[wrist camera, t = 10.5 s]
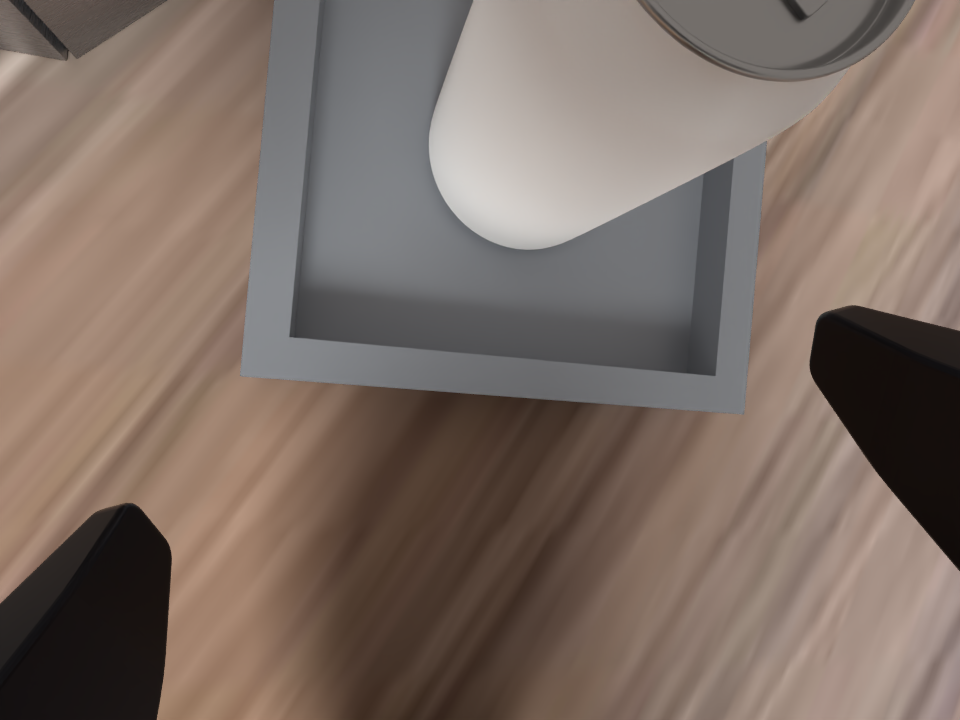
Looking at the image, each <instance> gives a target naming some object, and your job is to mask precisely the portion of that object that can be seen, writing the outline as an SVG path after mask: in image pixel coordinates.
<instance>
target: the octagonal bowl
mask: <svg viewBox="0 0 960 720" xmlns="http://www.w3.org/2000/svg"><path fill="white" fill-rule="evenodd" d="M165 1H167V0H0V49H3V50H9V51H14V52H20V53H26V54H31V55H37V56H43V57H48V58H54V59H60V60H65V61H67V51H68V50H69V51H70V52H71V53H72V54H73V55H74V56H75V57H76V58H79V57H81V56H82V55H84V54H85V53H87V52H88V51H90V50H91V49H93V48H94V47H96V46H97V45H99V44H101V43H102V42H104V41H105V40H107V39H108V38H110V37H111V36H113V35H114V34H116V33H117V32H119V31H121V30H122V29H124V28H125V27H127V26H128V25H130V24H131V23H133V22H134V21H136V20H137V19H139V18H141V17H142V16H144V15H145V14H147V13H148V12H150V11H151V10H153V9H154V8H156V7H157V6H159V5H161V4H162V3H164V2H165Z"/></svg>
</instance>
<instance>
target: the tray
mask: <svg viewBox="0 0 960 720" xmlns="http://www.w3.org/2000/svg"><path fill="white" fill-rule="evenodd" d="M472 3H473V0H274V8H273V19H272V30H271V41H270V52H269V63H268V74H267V85H266V96H265V107H264V118H263V129H262V140H261V151H260V162H259V173H258V184H257V195H256V206H255V217H254V228H253V239H252V250H251V261H250V272H249V283H248V294H247V305H246V316H245V327H244V338H243V349H242V360H241V371H240V376H244V377H257V378H270V379H283V380H296V381H310V382H323V383H336V384H349V385H362V386H375V387H389V388H402V389H415V390H428V391H441V392H454V393H468V394H481V395H494V396H507V397H520V398H533V399H547V400H560V401H573V402H586V403H599V404H612V405H626V406H639V407H652V408H665V409H678V410H691V411H704V412H718V413H731V414H744V409H745V397H746V385H747V373H748V361H749V349H750V337H751V325H752V313H753V301H754V290H755V278H756V266H757V254H758V242H759V230H760V218H761V206H762V194H763V182H764V170H765V158H766V146H767V141H765V142H763V143H762V144H760V145H758V146H756V147H754V148H752V149H750V150H749V151H747V152H745V153H743V154H741V155H739V156H737V157H735V158H733V159H731V160H729V161H727V162H725V163H723V164H722V165H720V166H718V167H716V168H714V169H712V170H710V171H708V172H706V173H704V174H702V175H700V176H698V177H696V178H694V179H692V180H690V181H688V182H686V183H684V184H682V185H680V186H678V187H676V188H674V189H672V190H670V191H668V192H666V193H664V194H662V195H660V196H658V197H656V198H654V199H652V200H650V201H648V202H646V203H644V204H642V205H640V206H638V207H636V208H634V209H632V210H630V211H628V212H626V213H624V214H622V215H620V216H618V217H616V218H614V219H612V220H610V221H608V222H606V223H604V224H602V225H600V226H598V227H596V228H594V229H592V230H590V231H588V232H586V233H584V234H582V235H580V236H577V237H575V238H573V239H571V240H569V241H566V242H564V243H562V244H559V245H556V246H552V247H548V248H543V249H535V250H523V249H514V248H509V247H505V246H502V245H499V244H496V243H493V242H491V241H489V240H487V239H485V238H483V237H481V236H480V235H478V234H476V233H475V232H474V231H472V230H471V229H470V228H468V227H467V226H466V225H465V224H464V223H463V222H462V221H461V220H460V219H459V218H458V217H457V216H456V215H455V214H454V213H453V211H452V210H451V209H450V208H449V206H448V205H447V203H446V202H445V200H444V198H443V197H442V195H441V193H440V191H439V189H438V187H437V184H436V182H435V179H434V176H433V172H432V168H431V164H430V157H429V132H430V126H431V121H432V117H433V113H434V110H435V106H436V103H437V101H438V98H439V95H440V92H441V89H442V86H443V83H444V81H445V78H446V75H447V72H448V69H449V66H450V64H451V61H452V58H453V55H454V53H455V50H456V47H457V44H458V41H459V39H460V36H461V33H462V30H463V28H464V25H465V22H466V19H467V17H468V14H469V11H470V8H471V6H472Z"/></svg>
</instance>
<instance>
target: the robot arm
mask: <svg viewBox="0 0 960 720" xmlns="http://www.w3.org/2000/svg"><path fill="white" fill-rule="evenodd" d="M810 372H811V375H812V377H813V380H814V381H815V383H816V385H817V386H818V388H819V389H820V391H821V392H822V394H823V395H824V396H825V398H826V399H827V401H828V402H829V404H830V405H831V407H832V408H833V410H834V411H835V413H836V414H837V416H838V417H839V419H840V420H841V421H842V423H843V424H844V426H845V427H846V429H847V430H848V432H849V433H850V435H851V436H852V438H853V439H854V441H855V442H856V444H857V445H858V446H859V448H860V449H861V451H862V452H863V454H864V455H865V457H866V458H867V460H868V461H869V462H870V464H871V465H872V466H873V468H874V469H875V471H876V472H877V473H878V475H879V476H880V477H881V478H882V480H883V481H884V482H885V483H886V485H887V486H888V487H889V488H890V489H891V491H892V492H893V493H894V494H895V495H896V497H897V498H898V499H899V500H900V501H901V502H902V504H903V505H904V506H905V507H906V508H907V510H908V511H909V512H910V513H911V514H912V515H913V517H914V518H915V519H916V520H917V521H918V523H919V524H920V525H921V526H922V527H923V528H924V530H925V531H926V532H927V533H928V534H929V536H930V537H931V538H932V539H933V540H934V541H935V543H936V544H937V545H938V546H939V547H940V549H941V550H942V551H943V552H944V553H945V554H946V556H947V557H948V558H949V559H950V560H951V562H952V563H953V564H954V565H955V566H956V567H957V569H958V570H959V571H960V331H958V330H954V329H950V328H946V327H942V326H938V325H934V324H930V323H926V322H922V321H918V320H913V319H909V318H905V317H901V316H897V315H893V314H889V313H885V312H881V311H877V310H873V309H869V308H865V307H861V306H856V305H851V306H846V307H842V308H838V309H835V310H831V311H827V312H825V313H823V314H821V315H820V317H819V318H818V320H817V322H816V326H815V332H814V338H813V344H812V350H811V356H810ZM171 564H172V556H171V550H170V546H169V544H168V542H167V540H166V539H165V538H164V536H163V535H162V534H161V533H160V532H159V530H158V529H157V528H156V527H155V525H154V524H153V523H152V522H151V521H150V519H149V518H148V517H147V516H146V515H145V513H144V512H143V511H142V510H141V509H140V508H139V507H138V506H137V505H135V504H133V503H124V504H120V505H116V506H113V507H109V508H105V509H102V510H99V511H97V512H95V513H94V514H93V515H92V516H91V517H89V518H88V519H87V520H86V521H85V522H84V523H83V524H82V525H81V526H80V527H79V528H78V529H77V530H76V531H75V532H74V533H73V534H72V535H71V536H70V537H69V538H68V539H67V540H66V541H65V542H64V543H63V544H62V545H61V546H59V547H58V548H57V549H56V550H55V551H54V552H53V553H52V554H51V555H50V556H49V557H48V558H47V559H46V560H45V561H44V562H43V563H42V564H41V565H40V566H39V567H38V568H37V569H36V570H35V571H34V572H33V573H32V574H31V575H30V576H28V577H27V578H26V579H25V580H24V581H23V582H22V583H21V584H20V585H19V586H18V587H17V588H16V589H15V590H14V591H13V592H12V593H11V594H10V595H9V596H8V597H7V598H6V599H5V600H4V601H3V602H2V603H1V604H0V720H157V714H158V709H159V703H160V697H161V690H162V683H163V677H164V667H165V657H166V642H167V627H168V611H169V595H170V580H171Z"/></svg>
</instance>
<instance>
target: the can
mask: <svg viewBox="0 0 960 720" xmlns="http://www.w3.org/2000/svg"><path fill="white" fill-rule="evenodd" d="M914 2H915V0H473V3H472V6H471V8H470V11H469V14H468V17H467V19H466V22H465V25H464V28H463V30H462V33H461V36H460V39H459V41H458V44H457V47H456V50H455V53H454V55H453V58H452V61H451V64H450V66H449V69H448V72H447V75H446V78H445V81H444V83H443V86H442V89H441V92H440V95H439V98H438V101H437V103H436V106H435V110H434V113H433V117H432V121H431V126H430V132H429V157H430V164H431V168H432V172H433V176H434V179H435V182H436V184H437V187H438V189H439V191H440V193H441V195H442V197H443V198H444V200H445V202H446V203H447V205H448V206H449V208H450V209H451V210H452V211H453V213H454V214H455V215H456V216H457V217H458V218H459V219H460V220H461V221H462V222H463V223H464V224H465V225H466V226H467V227H468V228H470V229H471V230H472V231H474V232H475V233H476V234H478V235H480V236H481V237H483V238H485V239H487V240H489V241H491V242H493V243H496V244H499V245H502V246H505V247H509V248H514V249H523V250H535V249H543V248H548V247H552V246H556V245H559V244H562V243H564V242H566V241H569V240H571V239H573V238H575V237H577V236H580V235H582V234H584V233H586V232H588V231H590V230H592V229H594V228H596V227H598V226H600V225H602V224H604V223H606V222H608V221H610V220H612V219H614V218H616V217H618V216H620V215H622V214H624V213H626V212H628V211H630V210H632V209H634V208H636V207H638V206H640V205H642V204H644V203H646V202H648V201H650V200H652V199H654V198H656V197H658V196H660V195H662V194H664V193H666V192H668V191H670V190H672V189H674V188H676V187H678V186H680V185H682V184H684V183H686V182H688V181H690V180H692V179H694V178H696V177H698V176H700V175H702V174H704V173H706V172H708V171H710V170H712V169H714V168H716V167H718V166H720V165H722V164H723V163H725V162H727V161H729V160H731V159H733V158H735V157H737V156H739V155H741V154H743V153H745V152H747V151H749V150H750V149H752V148H754V147H756V146H758V145H760V144H762V143H763V142H765V141H767V140H769V139H771V138H772V137H774V136H776V135H778V134H780V133H781V132H783V131H785V130H786V129H788V128H789V127H791V126H792V125H794V124H795V123H797V122H798V121H800V120H801V119H802V118H804V117H805V116H807V115H808V114H809V113H810V112H812V111H813V110H814V109H815V108H816V107H817V106H818V105H819V104H820V103H821V102H822V101H823V100H824V99H825V98H826V97H827V96H828V95H829V94H830V93H831V91H832V90H833V89H834V88H835V87H836V85H837V84H838V83H839V82H840V80H841V79H842V77H843V76H844V75H845V73H846V72H847V71H848V69H849V68H850V66H852V65H854V64H856V63H857V62H859V61H861V60H862V59H864V58H865V57H867V56H868V55H870V54H871V53H872V52H873V51H875V50H876V49H877V48H878V47H879V46H881V45H882V44H883V43H884V42H885V41H886V40H887V39H888V38H889V37H890V36H891V35H892V33H893V32H894V31H895V30H896V29H897V28H898V26H899V25H900V24H901V22H902V21H903V20H904V18H905V17H906V15H907V14H908V12H909V10H910V9H911V7H912V5H913V4H914Z"/></svg>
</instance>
